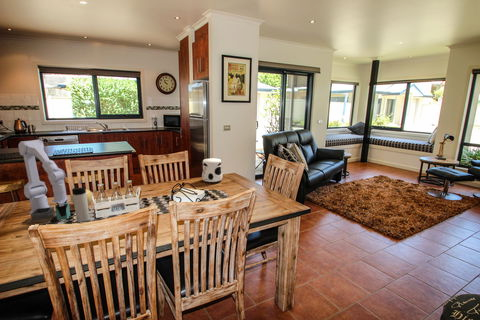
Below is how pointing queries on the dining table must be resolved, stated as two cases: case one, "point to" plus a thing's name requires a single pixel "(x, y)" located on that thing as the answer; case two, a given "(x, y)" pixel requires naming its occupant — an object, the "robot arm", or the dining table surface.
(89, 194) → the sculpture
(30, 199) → the robot arm
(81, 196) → the travel mug
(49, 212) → the cup bracket
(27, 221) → the mounting board
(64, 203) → the teal rectangular block
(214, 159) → the milk container
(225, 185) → the dining table surface
